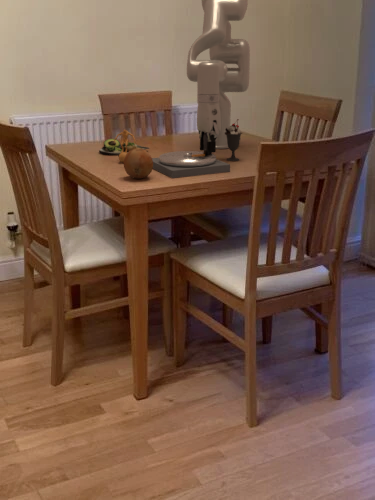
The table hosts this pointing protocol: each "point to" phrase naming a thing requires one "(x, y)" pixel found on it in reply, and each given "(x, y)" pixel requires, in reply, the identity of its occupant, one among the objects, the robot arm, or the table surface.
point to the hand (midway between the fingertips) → (207, 150)
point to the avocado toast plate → (117, 147)
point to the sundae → (233, 140)
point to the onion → (138, 163)
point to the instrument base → (190, 169)
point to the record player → (188, 157)
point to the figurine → (125, 136)
